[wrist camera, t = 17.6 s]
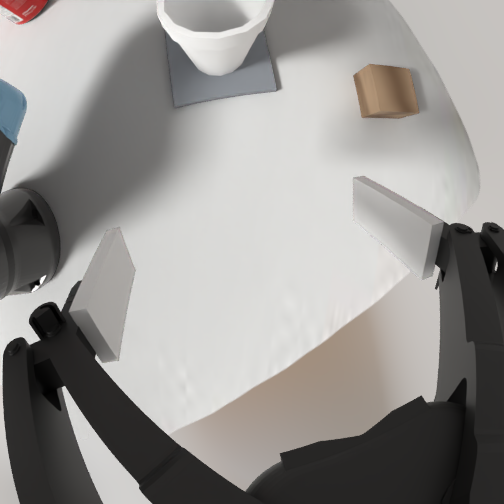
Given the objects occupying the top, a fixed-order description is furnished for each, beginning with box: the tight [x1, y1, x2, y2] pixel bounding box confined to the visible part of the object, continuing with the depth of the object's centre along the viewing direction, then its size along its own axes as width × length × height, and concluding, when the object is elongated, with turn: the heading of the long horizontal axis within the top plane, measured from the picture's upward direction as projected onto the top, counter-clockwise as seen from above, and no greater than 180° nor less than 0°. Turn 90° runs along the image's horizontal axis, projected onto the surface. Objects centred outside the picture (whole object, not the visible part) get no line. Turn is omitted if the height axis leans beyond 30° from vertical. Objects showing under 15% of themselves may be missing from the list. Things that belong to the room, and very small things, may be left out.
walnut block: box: [353, 64, 419, 118], centre depth 29 cm, size 6×6×5 cm
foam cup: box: [157, 0, 274, 76], centre depth 22 cm, size 10×9×13 cm
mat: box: [165, 29, 277, 108], centre depth 28 cm, size 12×12×1 cm
